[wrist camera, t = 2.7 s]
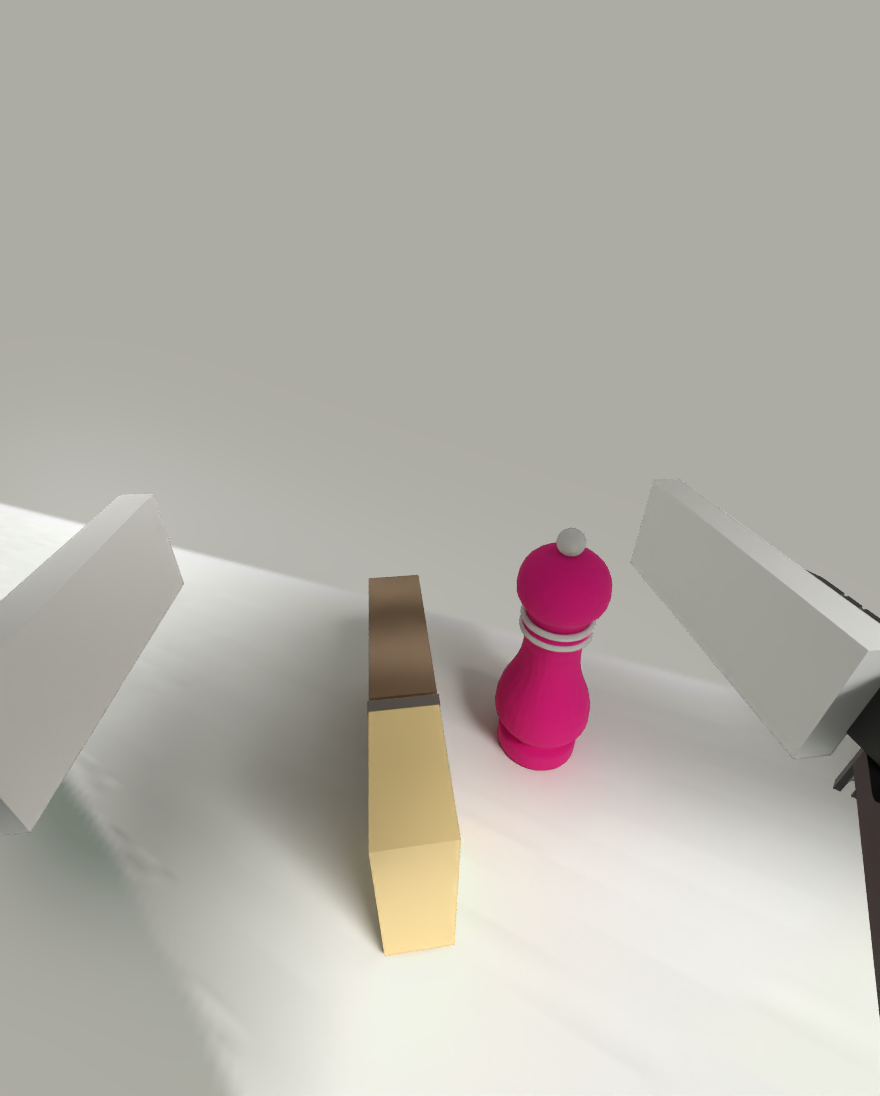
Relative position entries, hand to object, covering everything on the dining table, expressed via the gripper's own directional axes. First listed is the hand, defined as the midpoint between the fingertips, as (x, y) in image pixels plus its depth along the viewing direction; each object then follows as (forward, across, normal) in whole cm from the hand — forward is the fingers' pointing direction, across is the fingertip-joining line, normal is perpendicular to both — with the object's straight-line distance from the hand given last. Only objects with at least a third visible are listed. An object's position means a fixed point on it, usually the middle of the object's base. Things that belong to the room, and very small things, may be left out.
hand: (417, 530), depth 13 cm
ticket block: (+14, 0, -27) cm, 31 cm away
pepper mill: (+12, +10, -28) cm, 32 cm away
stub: (+3, 0, -28) cm, 28 cm away
